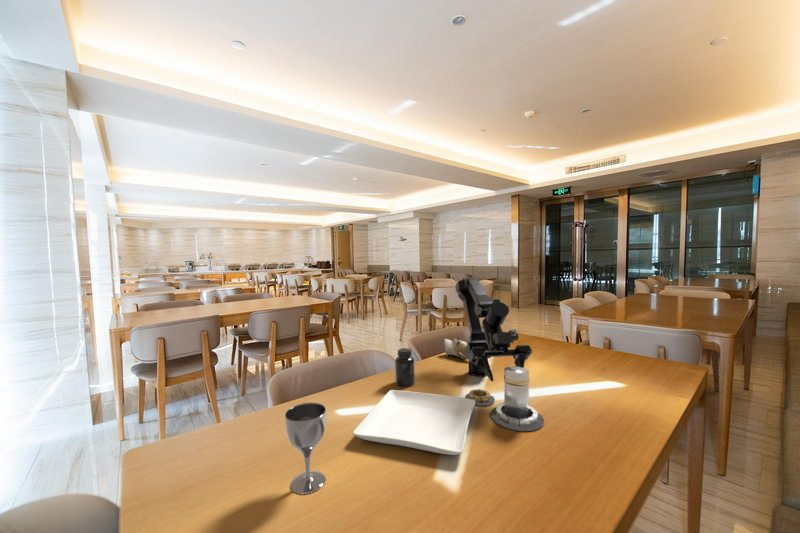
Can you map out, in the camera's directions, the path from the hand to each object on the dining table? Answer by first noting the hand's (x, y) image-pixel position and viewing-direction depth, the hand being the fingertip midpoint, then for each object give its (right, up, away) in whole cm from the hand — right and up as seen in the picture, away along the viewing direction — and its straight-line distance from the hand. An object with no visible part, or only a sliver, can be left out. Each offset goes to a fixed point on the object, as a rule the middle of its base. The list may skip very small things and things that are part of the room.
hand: (507, 380), depth 99 cm
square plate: (-27, -10, -9) cm, 30 cm away
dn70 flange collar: (+1, -9, -6) cm, 10 cm away
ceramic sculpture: (-6, -6, +48) cm, 49 cm away
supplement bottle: (-30, -8, +20) cm, 37 cm away
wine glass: (-51, -11, -30) cm, 60 cm away
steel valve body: (+1, -8, -6) cm, 10 cm away
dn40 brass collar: (-7, -8, +6) cm, 12 cm away
